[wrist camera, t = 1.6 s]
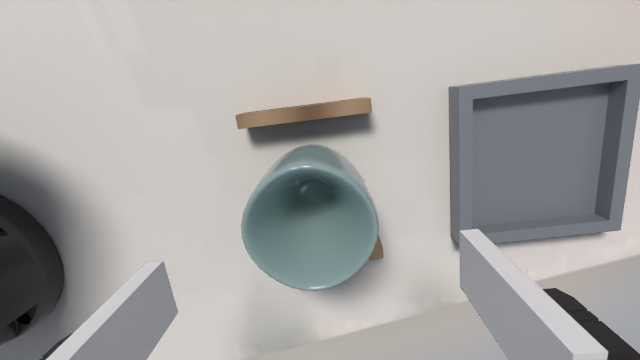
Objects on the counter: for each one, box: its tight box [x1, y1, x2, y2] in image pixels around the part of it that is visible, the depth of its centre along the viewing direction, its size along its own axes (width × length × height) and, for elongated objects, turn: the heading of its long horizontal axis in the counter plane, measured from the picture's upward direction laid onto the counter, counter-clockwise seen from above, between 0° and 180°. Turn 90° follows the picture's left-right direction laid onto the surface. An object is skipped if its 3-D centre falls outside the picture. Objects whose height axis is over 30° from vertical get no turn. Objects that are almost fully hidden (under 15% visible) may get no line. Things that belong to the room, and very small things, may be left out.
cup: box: [241, 144, 379, 291], centre depth 23 cm, size 8×8×10 cm
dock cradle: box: [449, 64, 640, 247], centre depth 26 cm, size 13×13×2 cm
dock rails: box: [236, 97, 383, 259], centre depth 27 cm, size 10×13×2 cm
